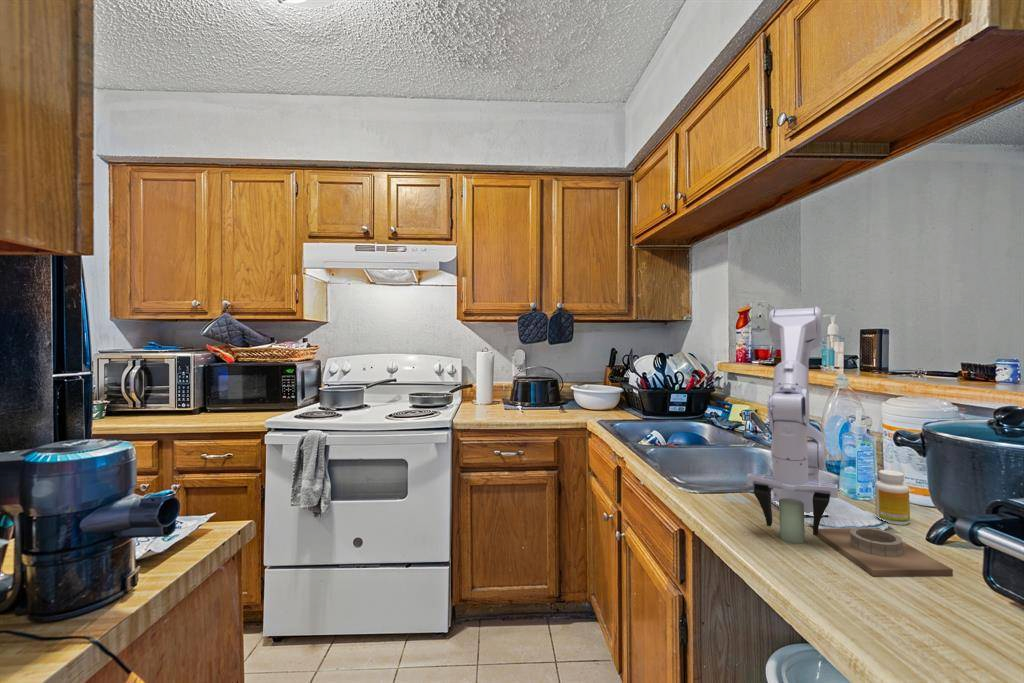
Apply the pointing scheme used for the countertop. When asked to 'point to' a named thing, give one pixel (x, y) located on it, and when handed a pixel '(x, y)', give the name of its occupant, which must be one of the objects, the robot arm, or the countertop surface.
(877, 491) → the supplement bottle
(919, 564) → the holder
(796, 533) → the peg
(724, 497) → the countertop surface
